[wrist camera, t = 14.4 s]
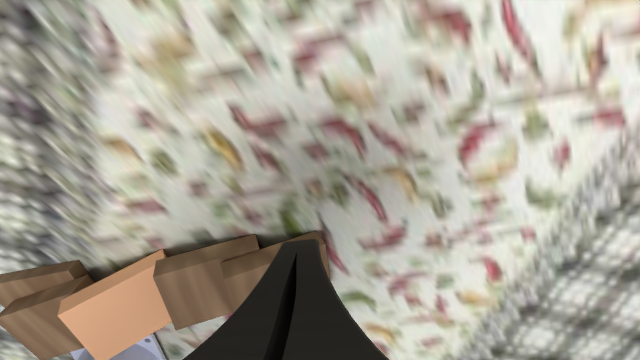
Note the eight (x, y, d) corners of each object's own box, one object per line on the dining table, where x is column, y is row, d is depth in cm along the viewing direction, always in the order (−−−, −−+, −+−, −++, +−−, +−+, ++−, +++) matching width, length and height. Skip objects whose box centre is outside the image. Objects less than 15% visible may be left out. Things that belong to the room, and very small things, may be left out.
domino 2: (71, 292, 24) (-7, 319, 25) (115, 338, 26) (41, 360, 27) (86, 275, 26) (13, 300, 27) (126, 319, 28) (56, 341, 29)
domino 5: (325, 243, 24) (224, 279, 21) (332, 296, 26) (241, 333, 24) (315, 230, 25) (220, 262, 23) (323, 281, 27) (236, 315, 25)
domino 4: (258, 247, 24) (152, 277, 22) (271, 300, 26) (175, 330, 24) (255, 233, 25) (156, 260, 24) (267, 284, 27) (177, 311, 26)
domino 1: (68, 270, 25) (-14, 285, 26) (101, 317, 27) (24, 330, 28) (83, 255, 27) (5, 269, 28) (114, 300, 29) (40, 313, 30)
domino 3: (165, 259, 24) (57, 315, 22) (194, 308, 27) (99, 364, 24) (162, 248, 26) (61, 300, 23) (190, 295, 28) (100, 347, 26)
